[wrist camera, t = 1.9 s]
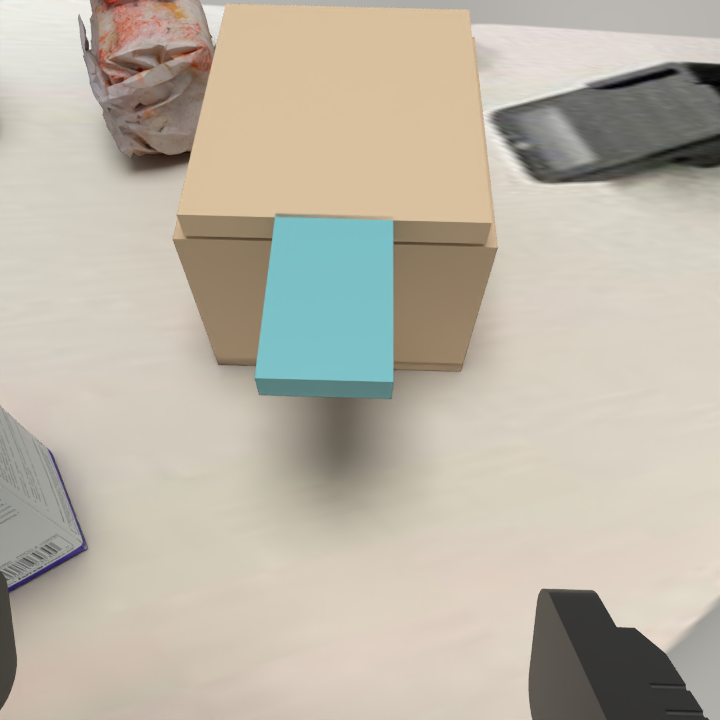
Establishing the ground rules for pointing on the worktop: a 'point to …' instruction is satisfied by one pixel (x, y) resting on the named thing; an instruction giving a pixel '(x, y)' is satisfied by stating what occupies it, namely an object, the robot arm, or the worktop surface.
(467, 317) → the carton
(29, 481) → the supplement box
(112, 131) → the food item
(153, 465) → the worktop surface
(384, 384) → the flap
